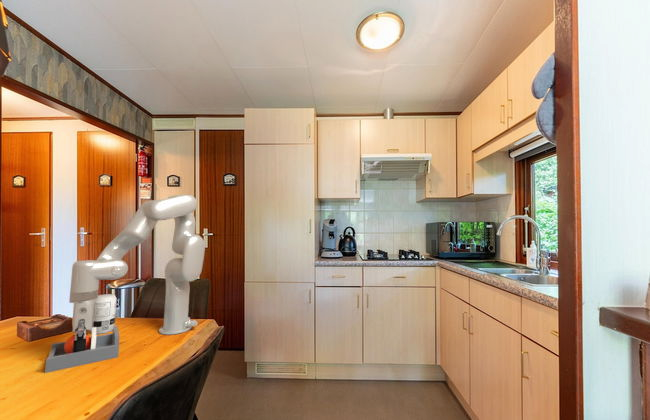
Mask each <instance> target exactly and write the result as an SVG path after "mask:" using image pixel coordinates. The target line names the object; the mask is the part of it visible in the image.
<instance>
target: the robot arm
mask: <svg viewBox="0 0 650 420" xmlns="http://www.w3.org/2000/svg"><path fill="white" fill-rule="evenodd" d="M197 207H198V201H197V198H195V196H193V195H191V194H187V193H186V194H174V195H171V196H168V197H167V198H161V199H153V200H147V201H145V202H143V203H142V204H141V205H140V206H139V208H138V209H137V211H135V212H134V215H133V216H132V217H131V219H130V220H129V222H128V223H127V225H126V226H125V227H124V229H123V230H122V231H120V233H118V235H116V236H115V238H113V239H112V240H111V241H110V242H109V243H108V244H107V245H106V246H105V248H104V249H103V250H102V251H101V252H100V254H99V255H98V257H97V259H96V260H95V259H94V260H93V259H89V260H88V259H86V260H77V261H75V262H73V264H72V268H71V277H70V278H71V279H70V287H69V289H70V290H69V300H68V303H70V304H73V307H72V308H73V309H72V333H74V335H75V340H74V343H73V353H75V352H80V351H85V350H86V339H87V338H86V332H87V333H88V331H89V332H90V330H92V321H93V309H94V301H95V300H97V299H98V296H99V287H100V280H102V281H103V280H106V281H109V280H110V281H113V280H119V279H121V278H123V277H125V276H126V274H127V273H128V271H129V266H128V264H127V263H126V261H124V260H123V257H124V256H126V254H127V253H128V252H129V251H130V250H132V249H133V248H135V247H137V246H138V245H140V244H142V243H144V242H145V241H146V239H147V238H148V237H149V236H150V233H152V230H154V228H155V226H156V225H157V224H158V222H159V221H167V220H170V219H174V230H173V231H174V232H173V237H172V244H171V248H172V251H173V253H175V254H177V255H181V256H182V257H175V258H171V259H170V260H169V261H168V262H167V263H166V265H165V268H164V278H165V299H164V314H163V326H161V327H160V328H159V329H158V332H159V334H161V335H177V334H183V333H185V332H188V331H190V330H191V329H192V327H197V325H198V321H197V320H196V319H195V320H191V317H189V305H190V290H191V288H190V287H191V286H190V282H195V280H197V279H198V278H199V277H200V276H201V273H202V271H203V266H204V265H203V264H204V258H205V251H206V244H205V240H204V239H203V238H202V236H200V235H199V234H196V218H195V216H194V213H193V212H195V210H196V209H197ZM83 338H84V339H83Z"/></svg>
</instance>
